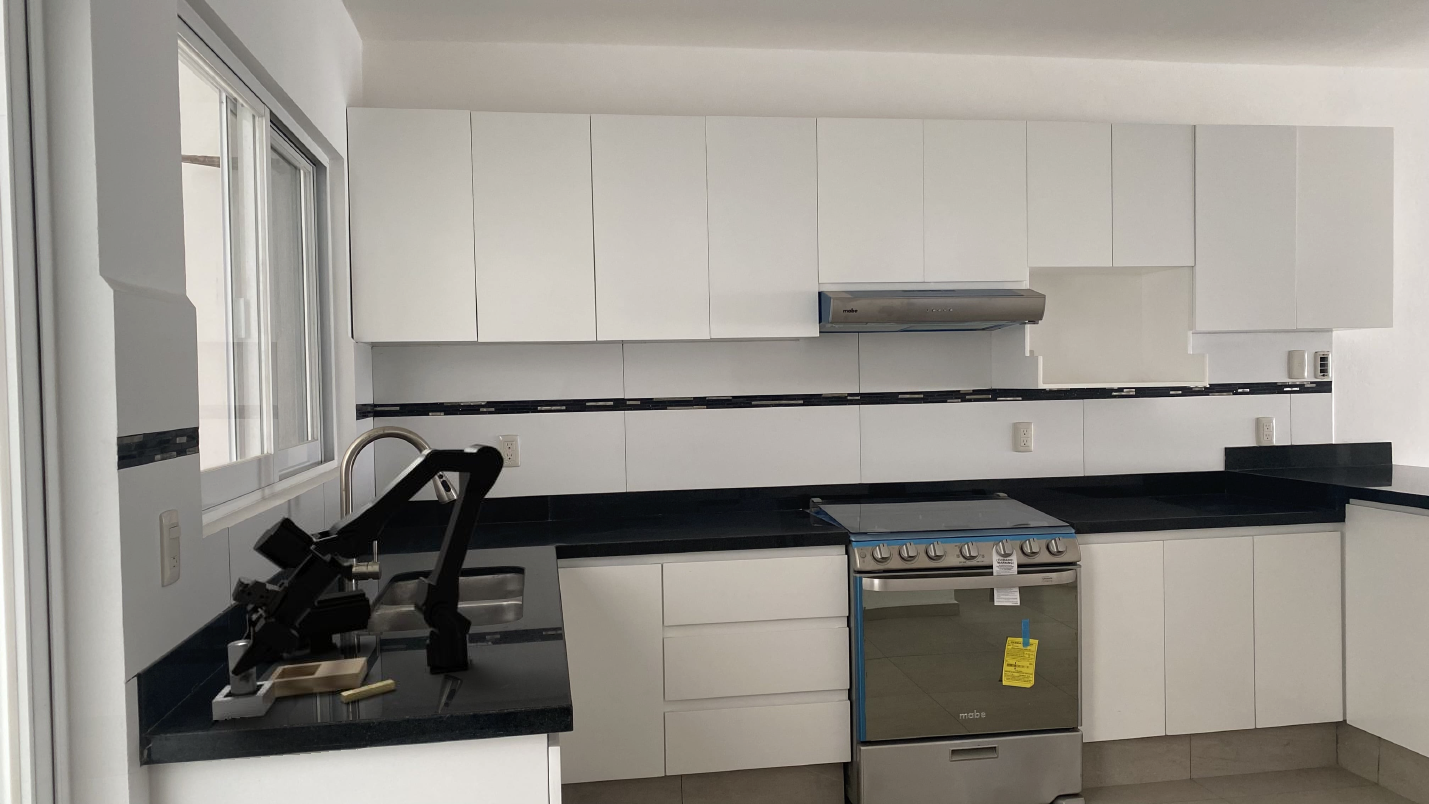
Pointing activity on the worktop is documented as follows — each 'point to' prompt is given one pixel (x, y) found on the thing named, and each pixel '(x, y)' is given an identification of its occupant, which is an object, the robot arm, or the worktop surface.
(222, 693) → the socket block
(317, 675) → the wooden box
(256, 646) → the robot arm
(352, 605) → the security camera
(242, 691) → the tin canister
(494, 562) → the worktop surface
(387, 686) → the bar
